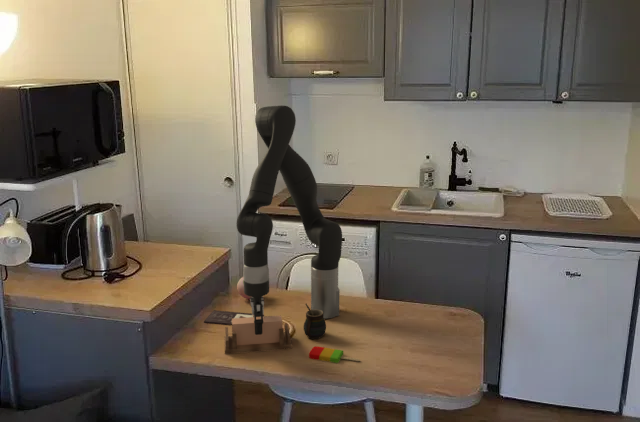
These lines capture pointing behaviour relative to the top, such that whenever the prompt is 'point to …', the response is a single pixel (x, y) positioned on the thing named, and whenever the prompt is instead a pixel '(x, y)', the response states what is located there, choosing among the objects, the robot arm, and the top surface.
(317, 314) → the mate gourd
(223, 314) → the chocolate bar
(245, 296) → the decorative fruit
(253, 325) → the tan rectangular block
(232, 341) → the rack
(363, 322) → the top surface
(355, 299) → the top surface
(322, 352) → the popsicle
